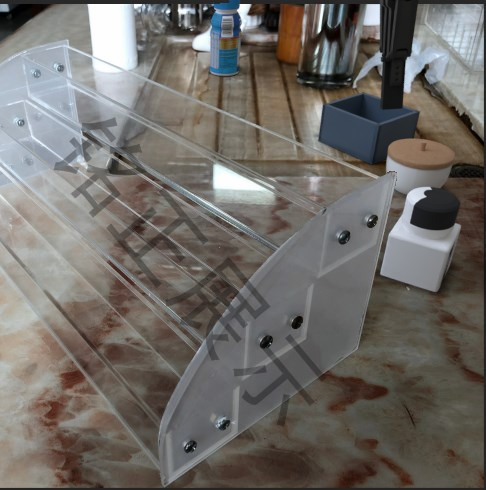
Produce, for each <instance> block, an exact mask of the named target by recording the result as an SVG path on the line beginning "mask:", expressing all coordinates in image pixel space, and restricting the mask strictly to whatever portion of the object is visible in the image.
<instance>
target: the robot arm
mask: <svg viewBox="0 0 486 490" xmlns="http://www.w3.org/2000/svg"><path fill="white" fill-rule="evenodd" d="M418 7H419V0H379V47H378V51H379V53H380V54H381V56H380V62H381V63H382V66H381V84H380V85H381V86H380V98H381V102H380V108H381V109H382V110H387V109H402V108H403V106H404V93H405V81H406V64H407V60H408V58H411V56H412V53H413V52H412V51H413V50H412V49H413V44H414V36H415V30H416V22H417V14H418Z"/></svg>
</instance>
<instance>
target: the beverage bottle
mask: <svg viewBox="0 0 486 490" xmlns="http://www.w3.org/2000/svg"><path fill="white" fill-rule="evenodd" d="M229 1H230V2H229V3H220V4H214V3H213V8H214V10H215V11H214V13H213V15H212V17H211V19H210V26H211V28H210V31H209V37H210V38H209V39H210V40H209V41H210V42H209V43H210V44H209V45H210V46H209V47H210V49H209V72H210V74H212V75H213V76H218V77H233V76H235V75H237V74H239V72H240V67H241V66H240V60H241V43H242V35H243V31H242V30H243V29H241V26H242V25H243V21H242V17H241V15H240V13H239V11H238V10H240V7H241V0H229Z"/></svg>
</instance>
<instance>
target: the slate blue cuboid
mask: <svg viewBox="0 0 486 490" xmlns="http://www.w3.org/2000/svg"><path fill="white" fill-rule="evenodd" d="M380 102H381V97H379V96H375V95H373V94H370V93H367V92H364V91H362V92H358V93H356V94H352V95H349V96H345V97H343V98H339V99H335V100H333V101H329V102H325V103H322V107H321V109H322V110H321V115H320V124H319V132H318V140H317V142H319V143H322V144H324V145H326V146H328V147H330V148H332V149H335V150H337V151H339V152H342V153H344V154H346V155H349V156H351V157H353V158H356V159H357V160H360V161H362V162H364V163H366V164H369V165H371V166H372V165H374V164H377V163H380V162H383V161H384V160H385V161H386V160H387V155H388V147H389V145H390V144H391V143H393V142H394V141H397V140H401V139H415V135H416V131H417V127H418V122H419V118H420V113H421V111H420V110H417V109H414V108H411V107H409V106H405V105H403V108H402V109H387V110H382V109H381V108H380Z"/></svg>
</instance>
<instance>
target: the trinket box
mask: <svg viewBox="0 0 486 490" xmlns="http://www.w3.org/2000/svg"><path fill="white" fill-rule="evenodd" d="M455 160H456V153H455V152H454V150H453V149H452V148H451V147H449V146H447V145H445V144H443V143H440V142H439V141H438V142H437V141H435V140H429V139H426V138H425V139H424V138H414V139H401V140H397V141H394V142H393V143H391V144H390V145H389V147H388V155H387V159H386V160H385V161H386V163H385V174H386V173H387V172H389V171H395V172H397V181H396V186H395V189H394V191H397V192H398V193H400V194H403V195H406V196H407V194H408V193H409V192H410V191H412V190H413V189H416V188H420V187H435V188H440V189H442V187H443V186H444V184H446V182H447V181H448V178H449V176H450V174H451V171H452V168H453V164H454V163H455Z"/></svg>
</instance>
